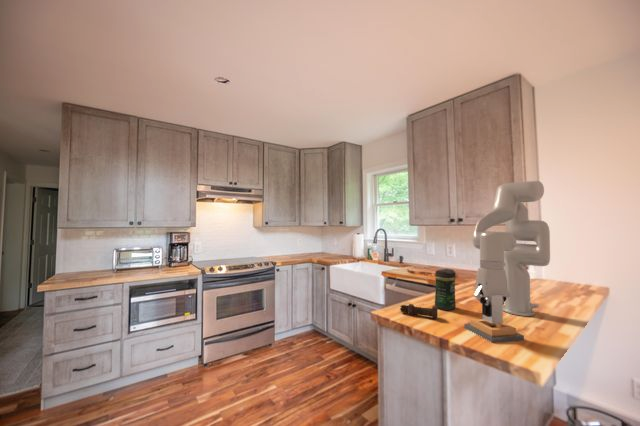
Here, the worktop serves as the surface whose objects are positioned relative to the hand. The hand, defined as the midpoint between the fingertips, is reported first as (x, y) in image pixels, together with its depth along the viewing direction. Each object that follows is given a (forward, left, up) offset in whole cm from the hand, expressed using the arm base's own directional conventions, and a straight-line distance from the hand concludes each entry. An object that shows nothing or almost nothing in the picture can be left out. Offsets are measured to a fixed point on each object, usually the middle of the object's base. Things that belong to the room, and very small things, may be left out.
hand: (492, 314), depth 98 cm
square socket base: (0, 0, -7) cm, 7 cm away
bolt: (+17, -22, -7) cm, 29 cm away
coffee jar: (-2, -30, -7) cm, 31 cm away
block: (0, 0, -2) cm, 2 cm away
